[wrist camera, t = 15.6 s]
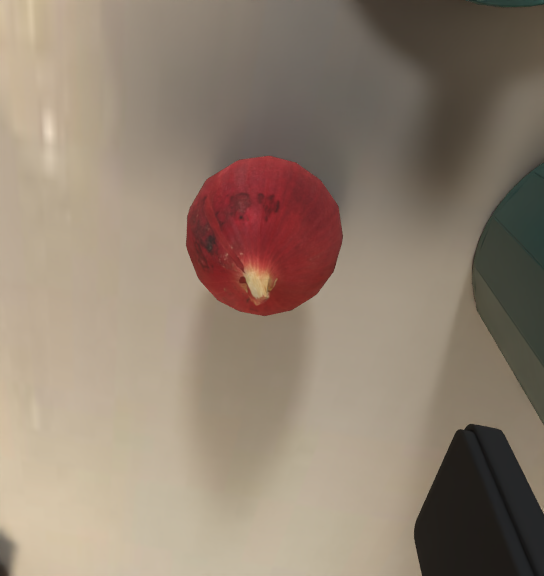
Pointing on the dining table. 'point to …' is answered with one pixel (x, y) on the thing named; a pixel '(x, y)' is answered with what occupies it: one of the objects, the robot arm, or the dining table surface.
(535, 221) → the pot
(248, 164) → the onion
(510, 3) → the pot lid
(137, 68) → the dining table surface
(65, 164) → the dining table surface
